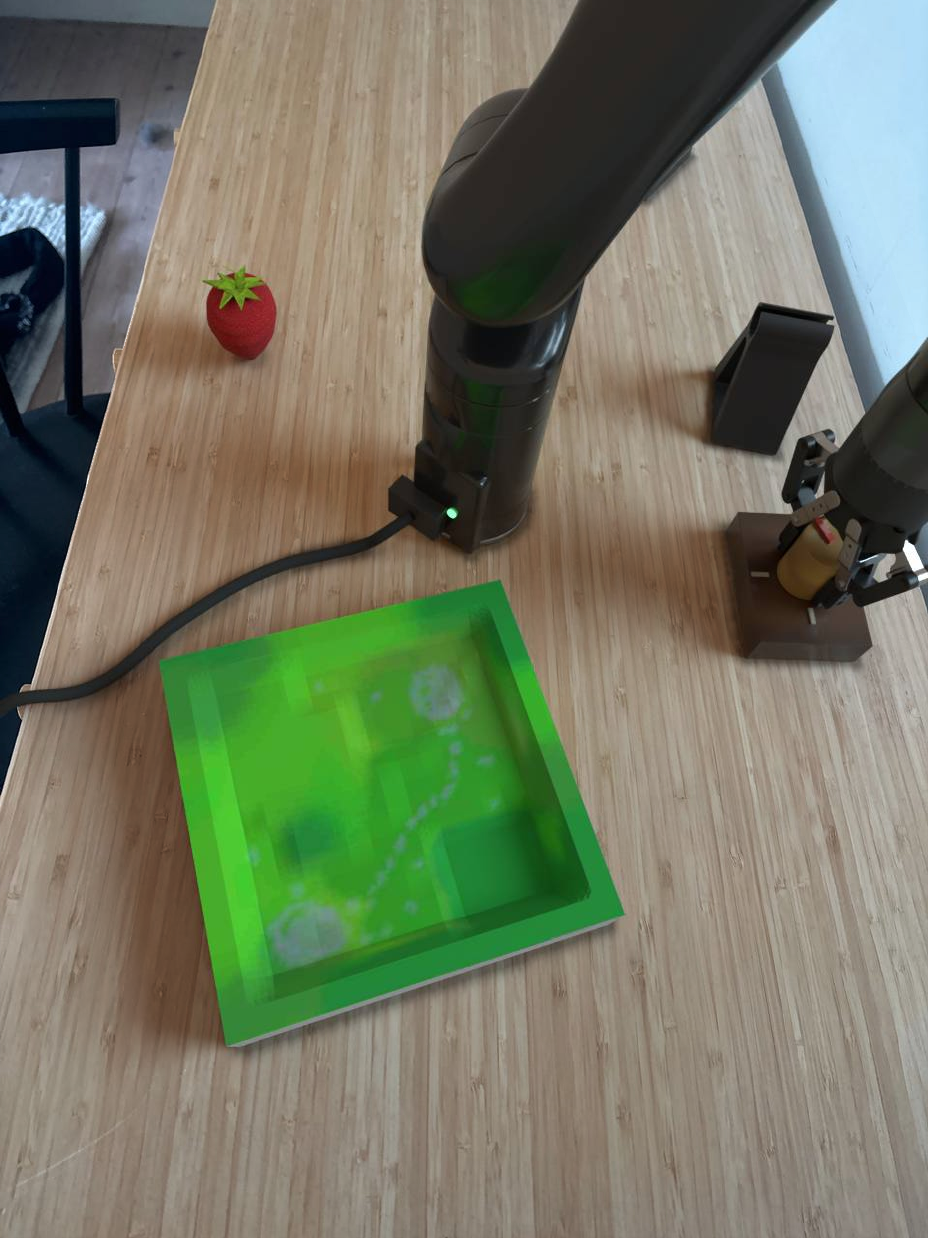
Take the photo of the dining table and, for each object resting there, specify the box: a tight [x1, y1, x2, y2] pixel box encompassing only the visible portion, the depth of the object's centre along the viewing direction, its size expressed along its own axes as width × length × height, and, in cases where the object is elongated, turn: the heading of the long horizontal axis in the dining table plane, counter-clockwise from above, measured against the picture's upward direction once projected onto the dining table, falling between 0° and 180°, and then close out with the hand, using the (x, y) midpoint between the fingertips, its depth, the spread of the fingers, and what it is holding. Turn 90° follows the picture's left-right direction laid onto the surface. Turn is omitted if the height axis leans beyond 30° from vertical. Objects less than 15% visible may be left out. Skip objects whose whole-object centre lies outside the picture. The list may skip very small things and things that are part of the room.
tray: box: [158, 579, 626, 1048], centre depth 59 cm, size 25×25×5 cm
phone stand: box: [710, 301, 836, 456], centre depth 75 cm, size 9×6×12 cm, turn 170°
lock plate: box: [725, 511, 874, 663], centre depth 71 cm, size 12×9×3 cm
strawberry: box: [202, 263, 278, 361], centre depth 74 cm, size 6×8×10 cm
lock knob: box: [777, 518, 843, 600], centre depth 67 cm, size 4×4×5 cm
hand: (806, 574), depth 69 cm, fingers closed on lock knob, 4 cm apart
